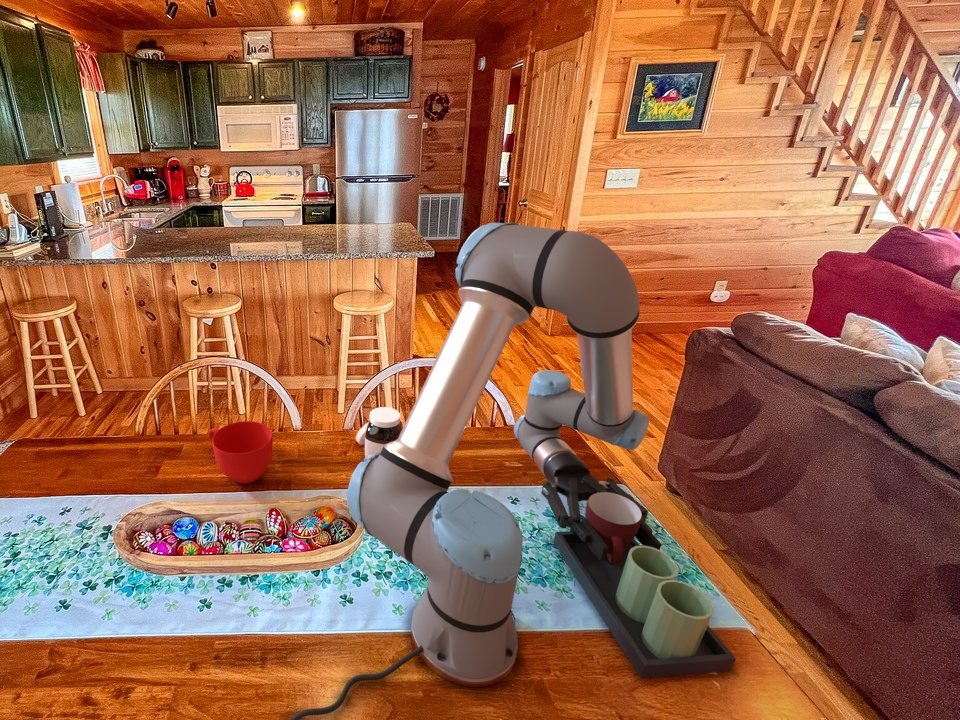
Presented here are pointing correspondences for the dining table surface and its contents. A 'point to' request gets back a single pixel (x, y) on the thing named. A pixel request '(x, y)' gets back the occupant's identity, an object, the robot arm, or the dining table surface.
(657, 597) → the cup
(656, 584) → the cup
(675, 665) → the tray
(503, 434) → the dining table surface
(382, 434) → the spread jar
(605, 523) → the mug
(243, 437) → the ceramic cup
